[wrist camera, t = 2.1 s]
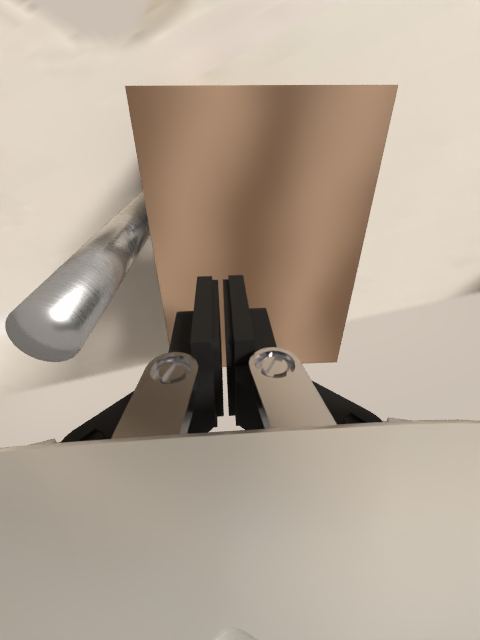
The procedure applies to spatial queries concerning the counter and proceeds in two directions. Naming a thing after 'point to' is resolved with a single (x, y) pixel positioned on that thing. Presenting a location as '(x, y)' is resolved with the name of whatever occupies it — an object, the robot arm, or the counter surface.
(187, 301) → the walnut tunnel
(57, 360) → the grey metal post stand
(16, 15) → the counter surface
